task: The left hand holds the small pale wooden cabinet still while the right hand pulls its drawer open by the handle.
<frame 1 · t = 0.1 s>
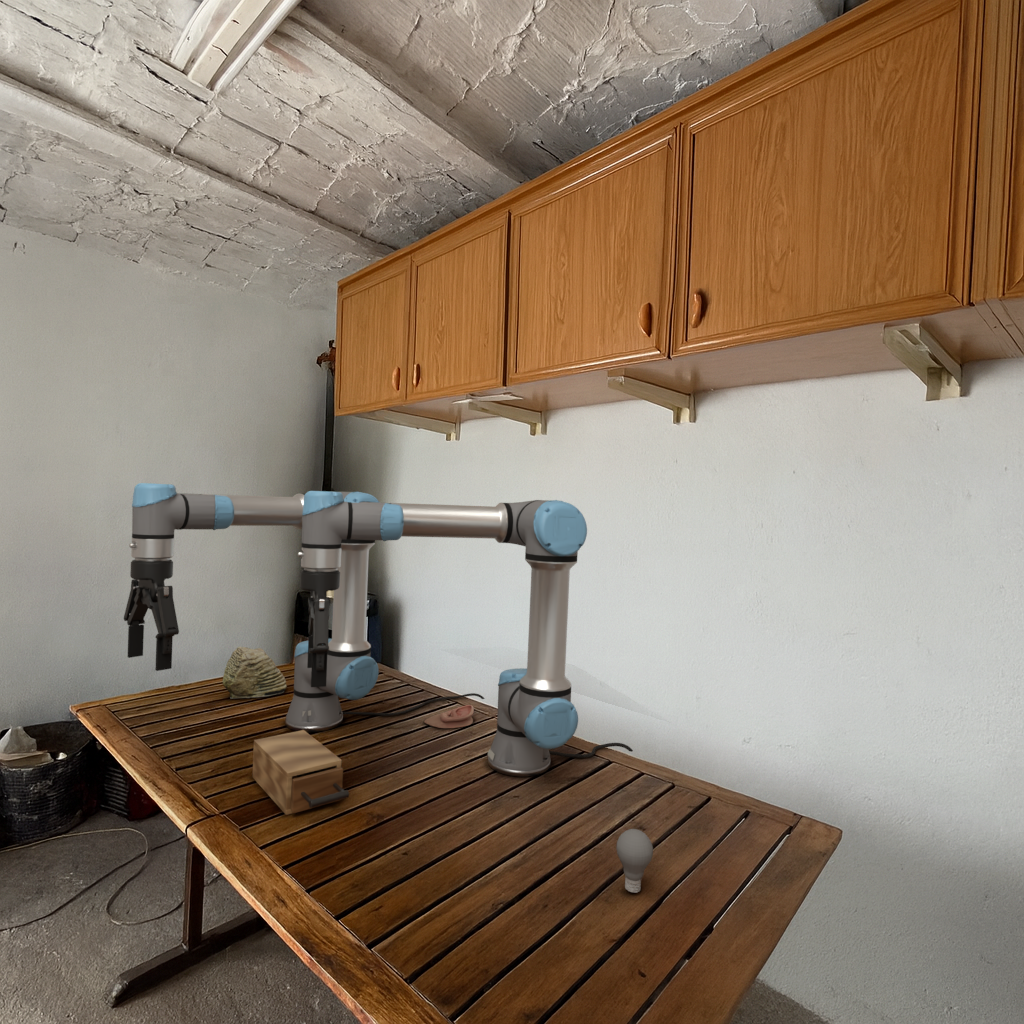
left hand: (148, 662, 129), 28 cm above the table, tool pointing down, fingers open, 13 cm apart
right hand: (316, 676, 125), 28 cm above the table, tool pointing down, fingers open, 13 cm apart
light bulb: (632, 891, 106), on the table
drawer: (305, 778, 133), point 4 cm above the table, slide at 0.9 cm
fossil: (254, 694, 198), on the table
cabinet: (294, 788, 137), on the table
anatomical model: (449, 722, 181), on the table
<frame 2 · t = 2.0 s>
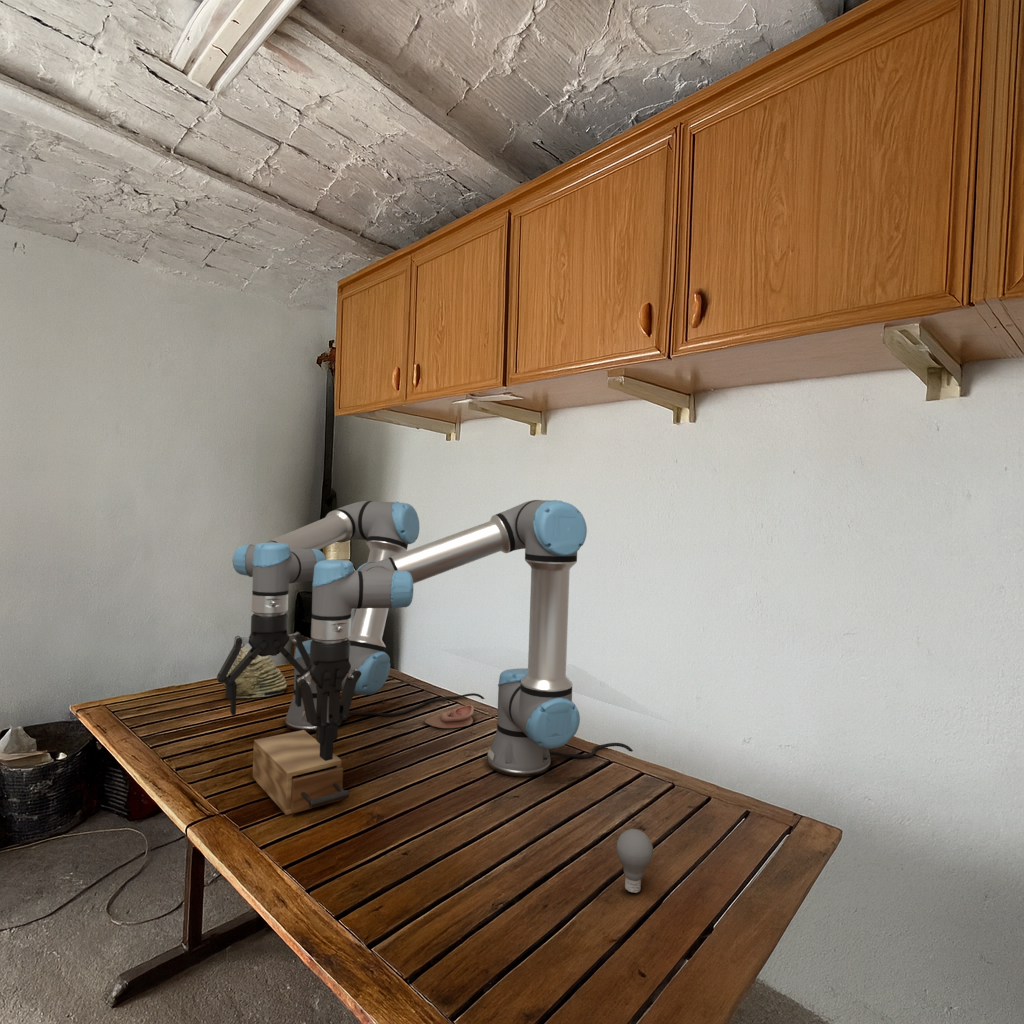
left hand: (266, 709, 140), 16 cm above the table, tool pointing down, fingers open, 13 cm apart
right hand: (326, 757, 125), 12 cm above the table, tool pointing down, fingers closed
nothing on the table moved.
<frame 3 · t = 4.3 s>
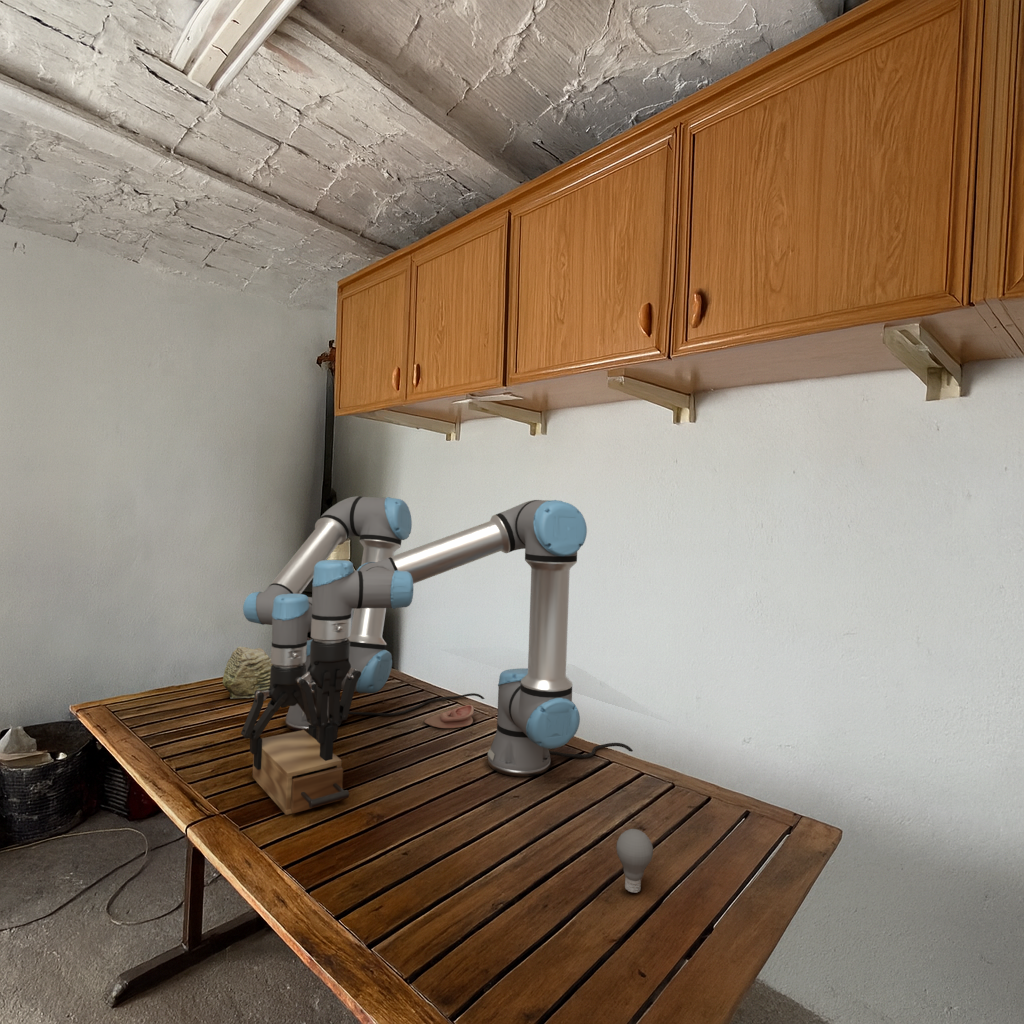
left hand: (285, 760, 142), 4 cm above the table, tool pointing down, fingers closed on cabinet, 11 cm apart
right hand: (326, 757, 125), 12 cm above the table, tool pointing down, fingers closed
cabinet: (294, 788, 137), on the table, touching left hand
everything else where it was.
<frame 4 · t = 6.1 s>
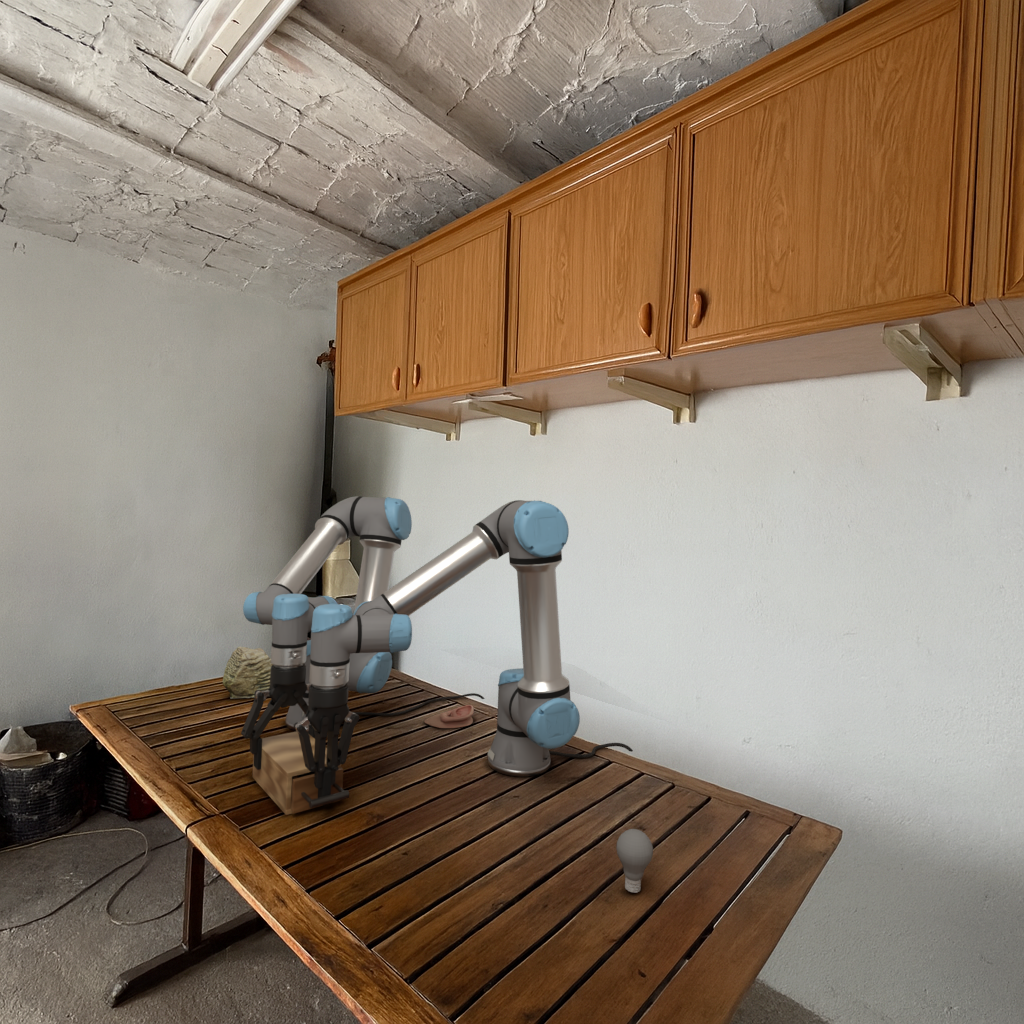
left hand: (285, 760, 142), 4 cm above the table, tool pointing down, fingers closed on cabinet, 11 cm apart
right hand: (323, 802, 125), 3 cm above the table, tool pointing down, fingers closed
drawer: (305, 778, 133), point 4 cm above the table, slide at 1.0 cm, touching right hand
cabinet: (294, 788, 137), on the table, touching left hand
everything else where it was.
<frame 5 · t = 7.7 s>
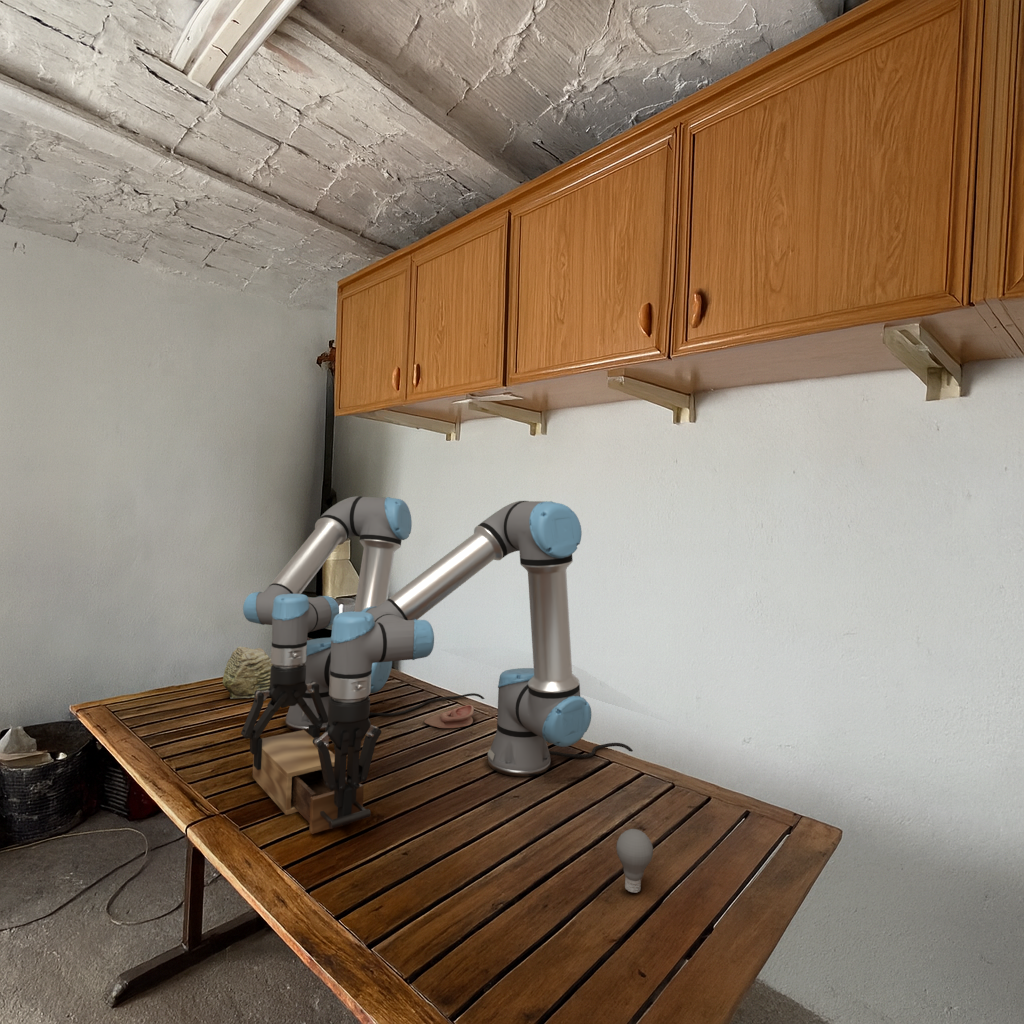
left hand: (285, 761, 142), 4 cm above the table, tool pointing down, fingers closed on cabinet, 11 cm apart
right hand: (344, 821, 118), 3 cm above the table, tool pointing down, fingers closed
drawer: (323, 795, 126), point 4 cm above the table, slide at 10.1 cm, touching right hand
cabinet: (294, 788, 137), on the table, touching left hand
everything else where it was.
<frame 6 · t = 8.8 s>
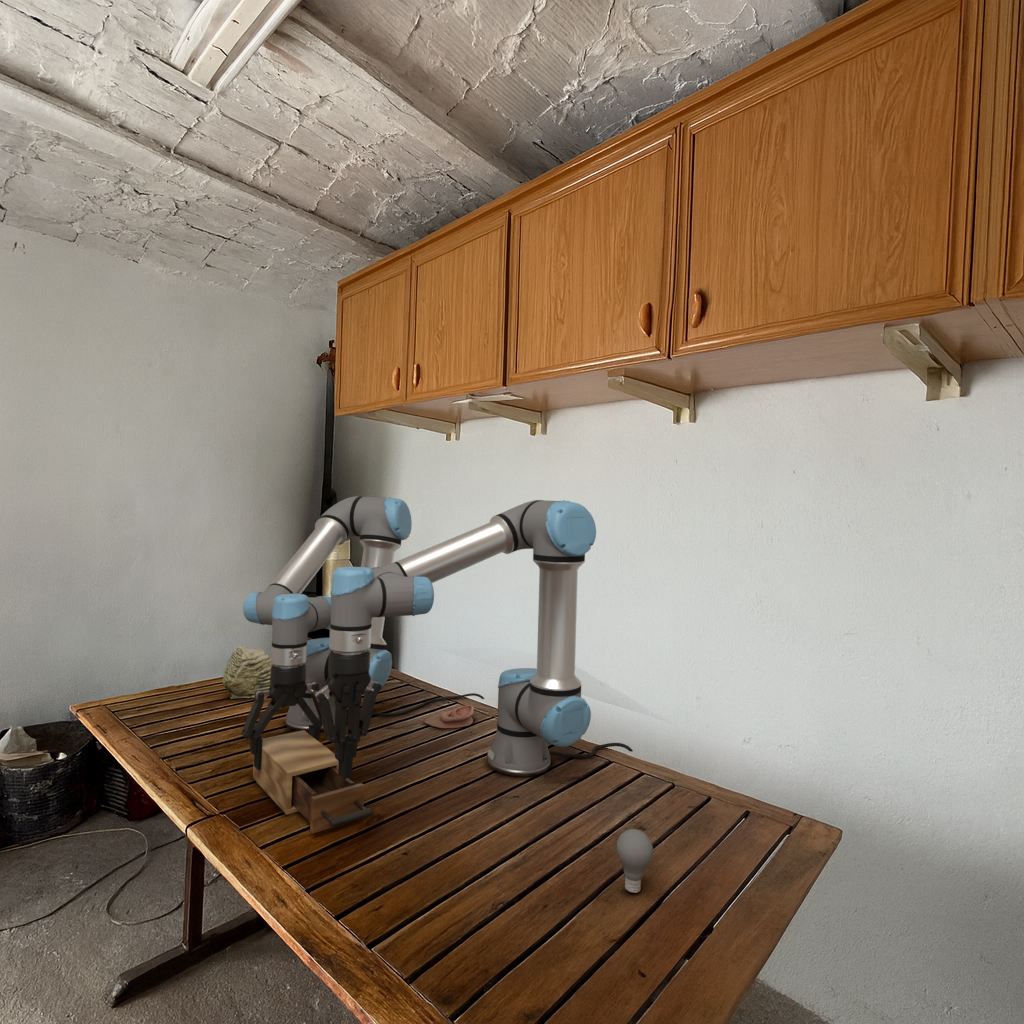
left hand: (285, 761, 142), 4 cm above the table, tool pointing down, fingers closed on cabinet, 11 cm apart
right hand: (345, 775, 119), 12 cm above the table, tool pointing down, fingers closed
drawer: (324, 795, 125), point 4 cm above the table, slide at 10.3 cm
cabinet: (295, 788, 137), on the table, touching left hand
everything else where it was.
when the left hand's fingers open (4 cm above the table, at t = 9.5 s): cabinet stays where it is, on the table.
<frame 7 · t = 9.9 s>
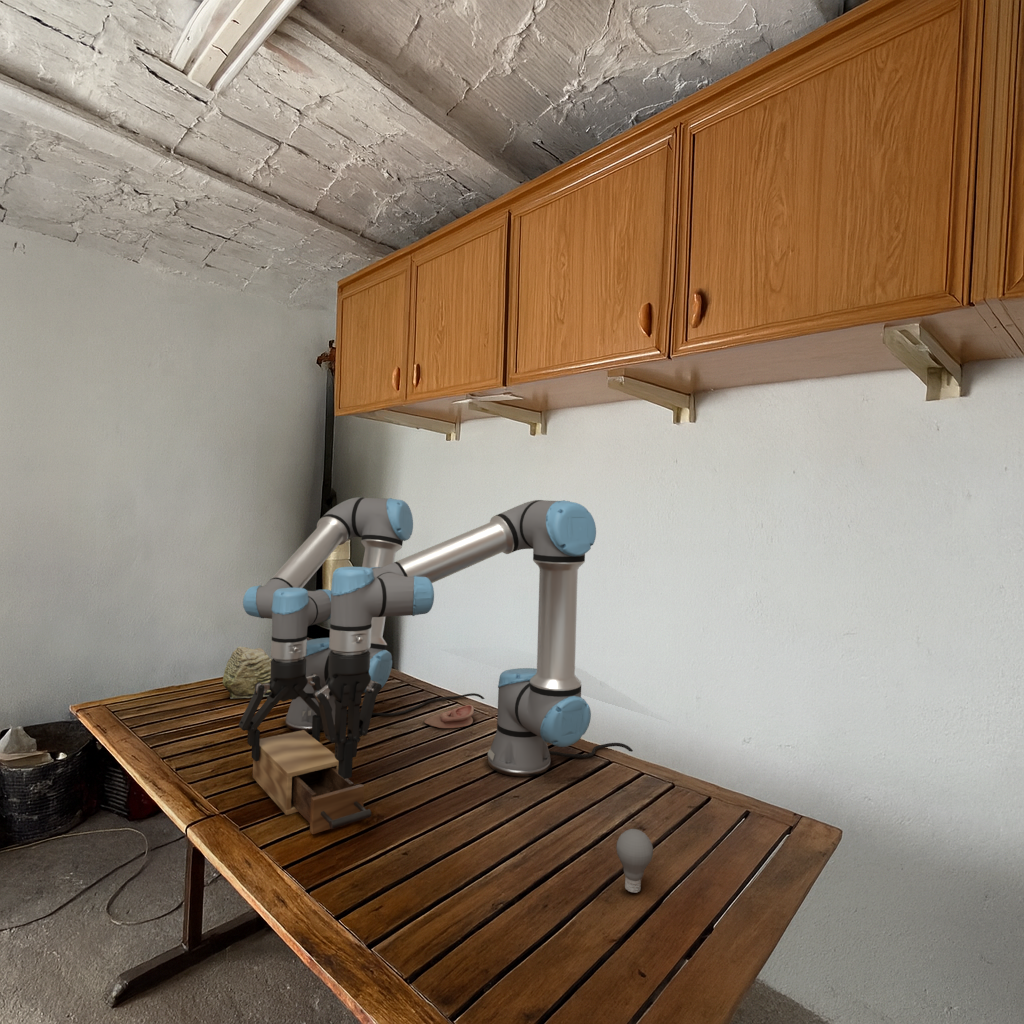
left hand: (286, 751, 142), 6 cm above the table, tool pointing down, fingers open, 13 cm apart
right hand: (344, 775, 119), 12 cm above the table, tool pointing down, fingers closed
cabinet: (295, 788, 137), on the table
everything else where it was.
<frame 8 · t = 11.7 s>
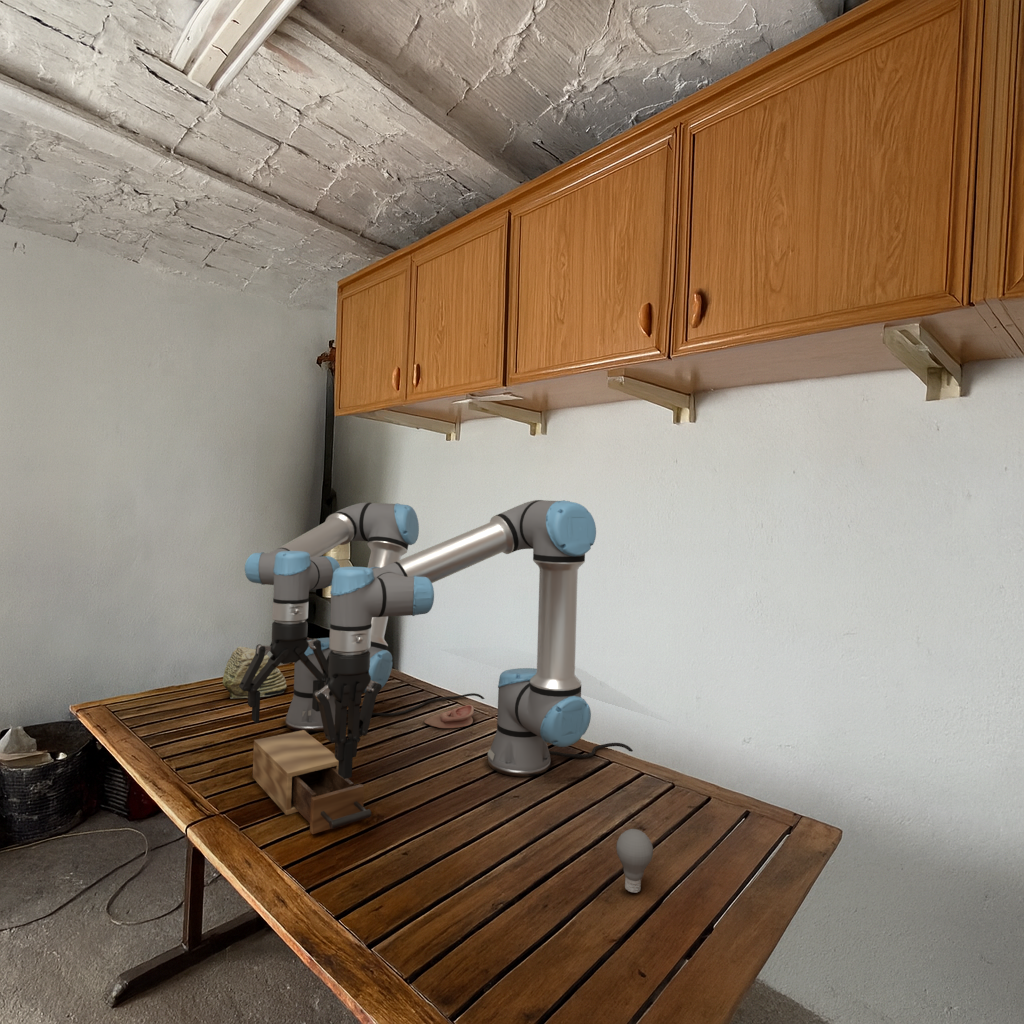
left hand: (286, 715, 142), 14 cm above the table, tool pointing down, fingers open, 13 cm apart
right hand: (344, 775, 119), 12 cm above the table, tool pointing down, fingers closed
nothing on the table moved.
at the end: drawer slide at 10.3 cm; cabinet tilted 0°; cabinet never tilted more than 1° during the clip; cabinet moved 0.1 cm from its start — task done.
